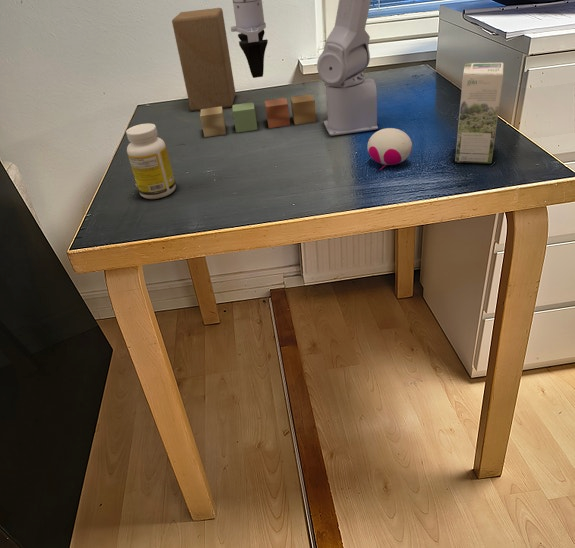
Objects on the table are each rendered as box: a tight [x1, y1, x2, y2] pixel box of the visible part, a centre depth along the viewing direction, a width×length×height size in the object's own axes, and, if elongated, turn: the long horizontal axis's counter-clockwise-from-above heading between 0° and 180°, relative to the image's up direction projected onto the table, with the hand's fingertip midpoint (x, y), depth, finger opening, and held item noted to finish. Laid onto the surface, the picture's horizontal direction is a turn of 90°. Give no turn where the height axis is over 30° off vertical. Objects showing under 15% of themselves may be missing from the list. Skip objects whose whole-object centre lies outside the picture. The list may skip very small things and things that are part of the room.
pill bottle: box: [125, 122, 177, 200], centre depth 85 cm, size 6×6×11 cm
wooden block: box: [171, 7, 236, 112], centre depth 121 cm, size 10×10×20 cm
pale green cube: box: [231, 102, 258, 134], centre depth 108 cm, size 4×4×4 cm
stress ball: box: [366, 127, 413, 171], centre depth 86 cm, size 8×8×7 cm
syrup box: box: [454, 62, 505, 165], centre depth 82 cm, size 6×6×14 cm
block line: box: [199, 93, 317, 138], centre depth 108 cm, size 24×4×4 cm, turn 96°
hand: (256, 72), depth 109 cm, fingers open, 7 cm apart
